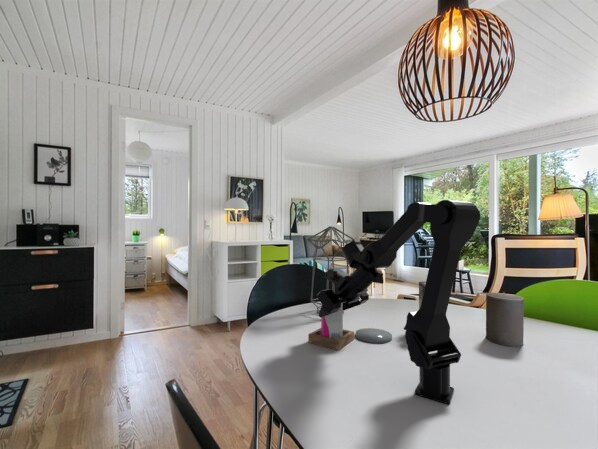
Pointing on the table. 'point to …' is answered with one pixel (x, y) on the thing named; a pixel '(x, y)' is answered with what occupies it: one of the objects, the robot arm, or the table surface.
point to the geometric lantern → (326, 254)
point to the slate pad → (373, 335)
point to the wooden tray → (331, 339)
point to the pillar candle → (504, 319)
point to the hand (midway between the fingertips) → (328, 313)
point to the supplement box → (333, 324)
